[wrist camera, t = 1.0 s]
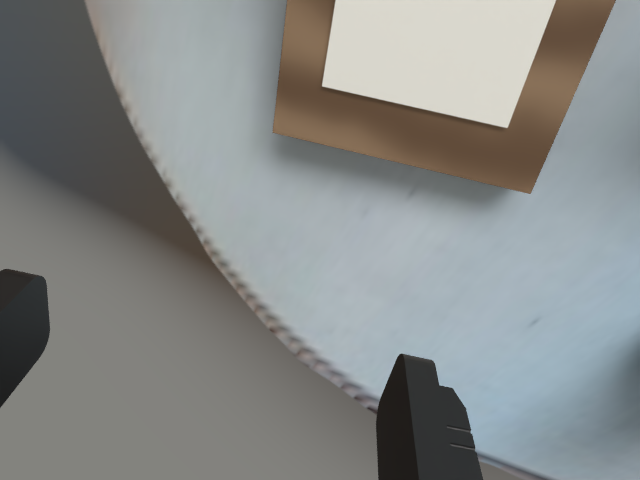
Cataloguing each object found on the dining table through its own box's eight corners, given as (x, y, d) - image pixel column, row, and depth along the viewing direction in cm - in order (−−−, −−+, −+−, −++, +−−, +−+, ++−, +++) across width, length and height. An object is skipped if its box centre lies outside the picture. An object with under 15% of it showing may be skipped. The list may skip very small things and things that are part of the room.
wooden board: (328, -239, 26) (314, -260, 24) (677, -185, 25) (706, -201, 22) (284, 119, 37) (271, 134, 34) (524, 176, 35) (531, 195, 33)
